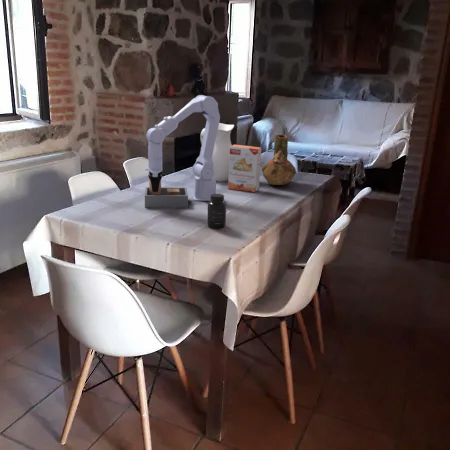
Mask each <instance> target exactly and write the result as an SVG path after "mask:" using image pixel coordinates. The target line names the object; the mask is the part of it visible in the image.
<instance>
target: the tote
mask: <svg viewBox="0 0 450 450" xmlns="http://www.w3.org/2000/svg"><path fill="white" fill-rule="evenodd" d="M144 189H145V190H144V208H162V209H163V208H174V209H175V208H179V209H180V208H188V207H189V194H188V189H187V187H162V186H161V194H160V195H150V194H149V186H147V187H146V186H145V188H144ZM167 189H179V195H167Z"/></svg>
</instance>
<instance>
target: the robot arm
mask: <svg viewBox="0 0 450 450" xmlns="http://www.w3.org/2000/svg"><path fill="white" fill-rule="evenodd" d="M193 113H202V115H203V117H204V118H205V119H206V123H205V127H204V128H205V132H204V137H203V142H202V143H201V147H200V152H199V156H198V157H197V158H196V159H195V160H196V161H195V163H194V164H193V165H192V173H193V174H194V194H192V198H193V201H196V202H197V201H201V202H203V201H205V202H206V201H207V202H210V201H211V200H210V199H211V195H212V194H217V181H216V180H215V179H211V178H212V177H213V175H214V170H213V165H214V164H213V161H212V155H213V150H214V145H215V140H216V135H217V131H218V126H219V123H220V120H221V115H220V111H219V103H218V102H217V100H216V99H215V98H214V96H213V97H212V96H209V95H207V96H206V95H203V94H198V95H197V96H196V97H194V98H192V99H191V100H190V101H189V102H188V103H187V104H186V105H185V106H184V107H183V108H180V110H179V111H178V112H177V113H175V115H173V116H169V115H168V116H164V117H163V120H161V121H159V123H158V124H155V125H154V127H151V128H149V129H148V130H147V132H146V134H145V137H146V139H147V142H148V143H147V145H148V146H147V149H148V150H147V156H148V157H147V164H148V166H147V167H145V171H147V172H148V175H147V177H148V180H149V179H150V181H151V185H152V191H153V192H158V190H159V184H160V180H161V181H162V178H163V175H162V174H163V170H164V169H163V142H164V140H165V137H168V136H169V135H170V134H171V133H172V132H174V131H175V130H176V129H177V128H178V125H179V124H180V122H182V121H183V120H185V119H186V118H188V117H189V116H190V115H191V114H193Z"/></svg>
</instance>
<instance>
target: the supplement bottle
mask: <svg viewBox="0 0 450 450" xmlns="http://www.w3.org/2000/svg"><path fill="white" fill-rule="evenodd" d="M210 200H211V201H208V203H207V215H206V216H207V223H206V225H207V227H208V228H209V229H212V230H222V229H224V228H226V225H227V204H226V202H225V195H224V194H222V193H216V194H212V195H211V199H210Z"/></svg>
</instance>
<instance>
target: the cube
mask: <svg viewBox="0 0 450 450" xmlns="http://www.w3.org/2000/svg"><path fill="white" fill-rule="evenodd" d="M167 195H179V189H167Z"/></svg>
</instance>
